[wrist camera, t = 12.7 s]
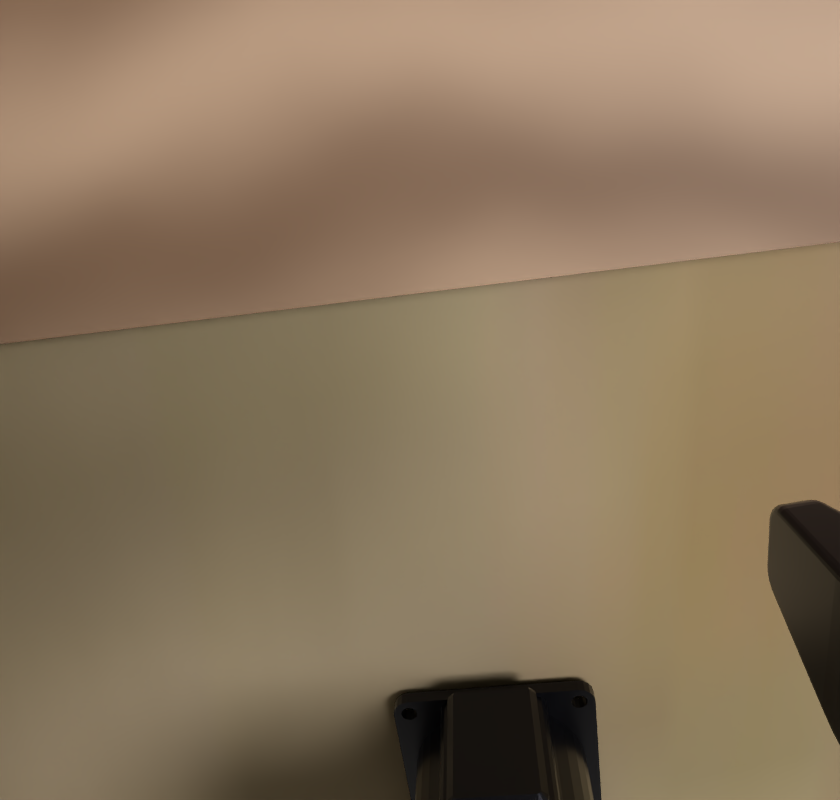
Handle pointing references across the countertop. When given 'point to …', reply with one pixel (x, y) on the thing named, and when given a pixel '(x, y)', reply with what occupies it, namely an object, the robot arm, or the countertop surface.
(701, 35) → the shelf board
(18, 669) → the countertop surface
